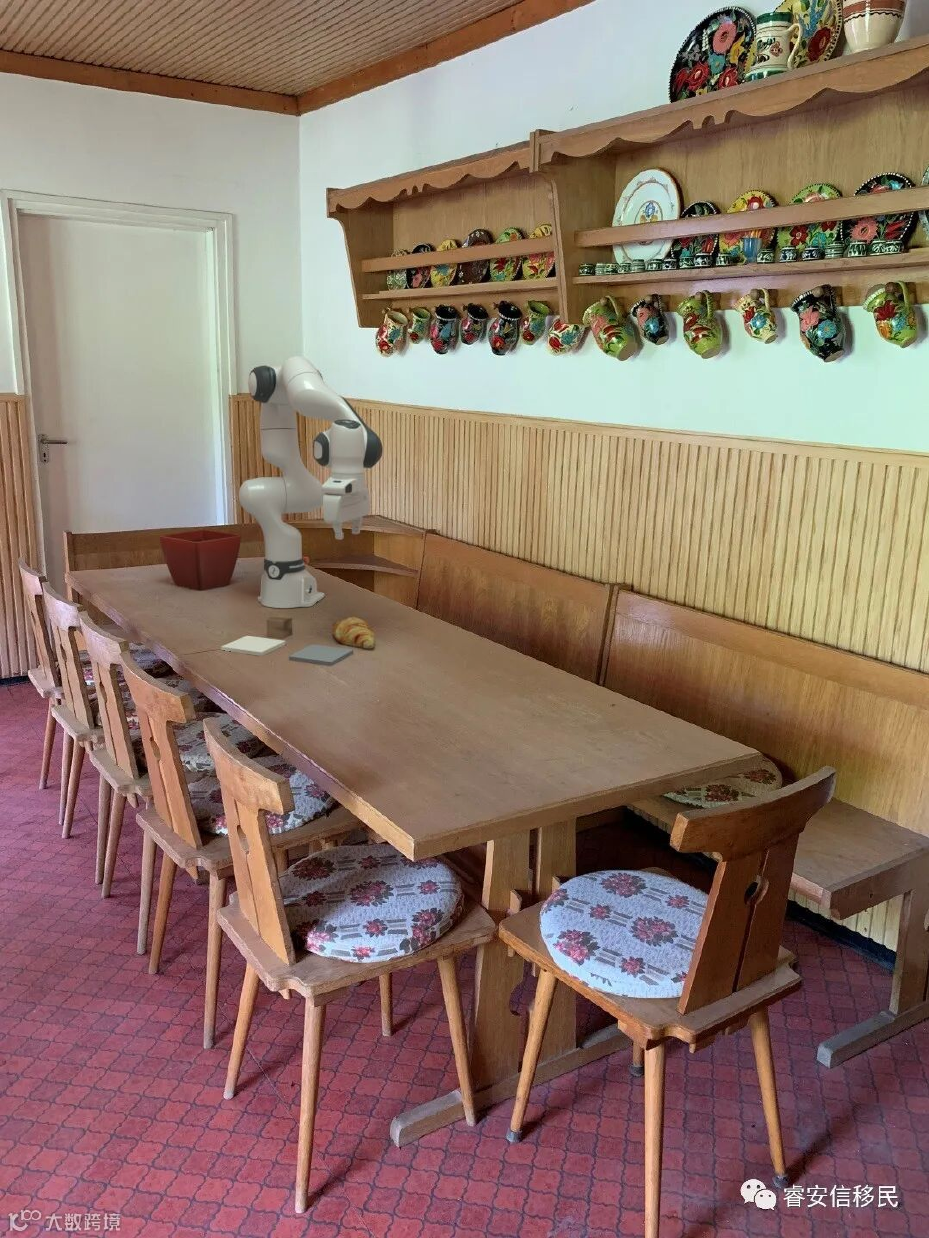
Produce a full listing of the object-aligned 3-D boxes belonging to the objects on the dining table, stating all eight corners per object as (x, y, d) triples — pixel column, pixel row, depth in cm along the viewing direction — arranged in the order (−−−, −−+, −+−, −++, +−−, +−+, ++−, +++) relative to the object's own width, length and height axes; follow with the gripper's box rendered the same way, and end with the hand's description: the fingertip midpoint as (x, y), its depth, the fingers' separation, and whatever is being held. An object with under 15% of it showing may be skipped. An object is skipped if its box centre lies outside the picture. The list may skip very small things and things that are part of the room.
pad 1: (246, 639, 272) (246, 635, 272) (285, 644, 268) (285, 640, 267) (221, 650, 261) (221, 646, 261) (261, 656, 257) (261, 652, 257)
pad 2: (312, 648, 265) (312, 644, 265) (353, 653, 261) (353, 649, 261) (289, 659, 254) (288, 656, 254) (331, 665, 250) (331, 662, 250)
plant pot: (206, 577, 347) (204, 528, 342) (244, 585, 336) (242, 535, 332) (160, 586, 332) (157, 535, 327) (198, 594, 321) (196, 542, 317)
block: (276, 632, 279) (276, 615, 278) (292, 634, 278) (292, 617, 276) (267, 637, 275) (266, 619, 273) (283, 639, 273) (282, 621, 272)
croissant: (381, 662, 266) (394, 634, 267) (352, 650, 260) (364, 621, 260) (343, 641, 283) (355, 615, 283) (314, 629, 277) (326, 603, 277)
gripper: (354, 479, 272) (354, 529, 276) (318, 487, 254) (318, 541, 257) (375, 480, 270) (375, 531, 274) (340, 488, 251) (340, 543, 255)
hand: (347, 536), depth 265 cm, fingers open, 8 cm apart
